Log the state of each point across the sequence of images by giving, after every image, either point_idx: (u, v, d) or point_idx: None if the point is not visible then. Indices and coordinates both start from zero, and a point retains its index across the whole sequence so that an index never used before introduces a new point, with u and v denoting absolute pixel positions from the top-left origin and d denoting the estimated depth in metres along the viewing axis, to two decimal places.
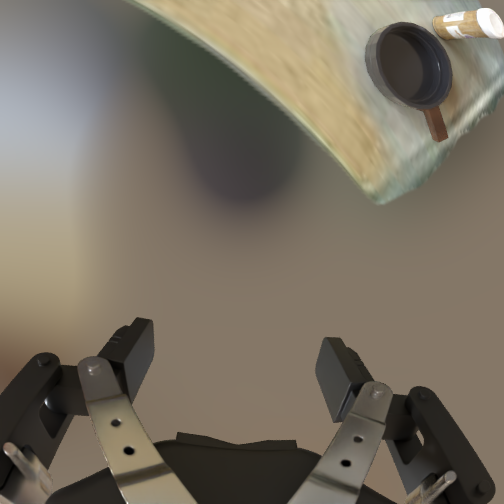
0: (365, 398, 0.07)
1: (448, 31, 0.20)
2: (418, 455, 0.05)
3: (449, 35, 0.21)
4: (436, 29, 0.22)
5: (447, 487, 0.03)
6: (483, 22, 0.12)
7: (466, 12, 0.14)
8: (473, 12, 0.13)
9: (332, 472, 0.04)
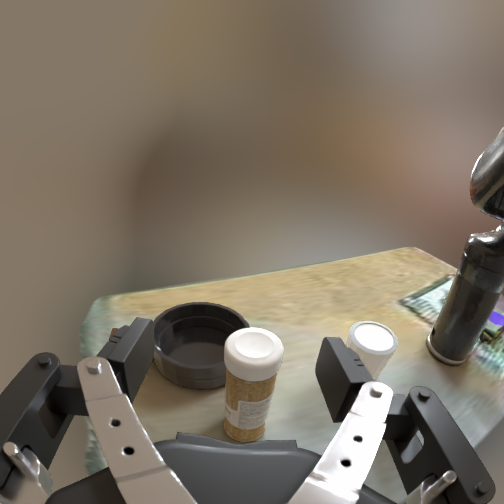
0: (365, 398, 0.07)
1: None
2: (418, 455, 0.05)
3: None
4: None
5: (447, 487, 0.03)
6: None
7: None
8: None
9: (332, 472, 0.04)
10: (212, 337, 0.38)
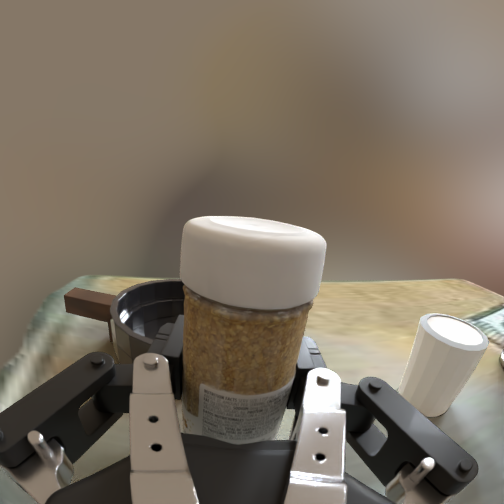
0: (314, 387, 0.08)
1: None
2: (384, 446, 0.06)
3: None
4: None
5: (428, 473, 0.04)
6: None
7: None
8: None
9: (310, 469, 0.04)
10: None
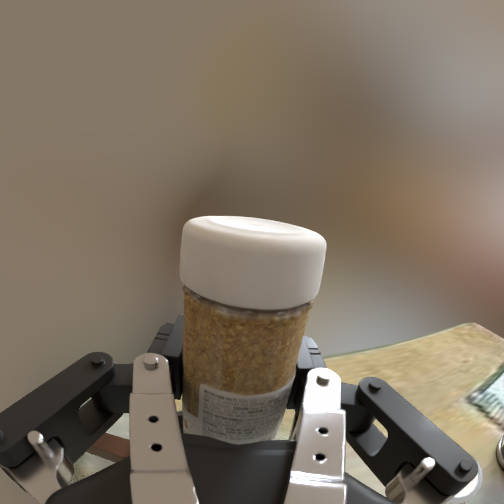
0: (314, 387, 0.08)
1: None
2: (384, 446, 0.06)
3: None
4: None
5: (428, 473, 0.04)
6: None
7: None
8: None
9: (310, 469, 0.04)
10: None
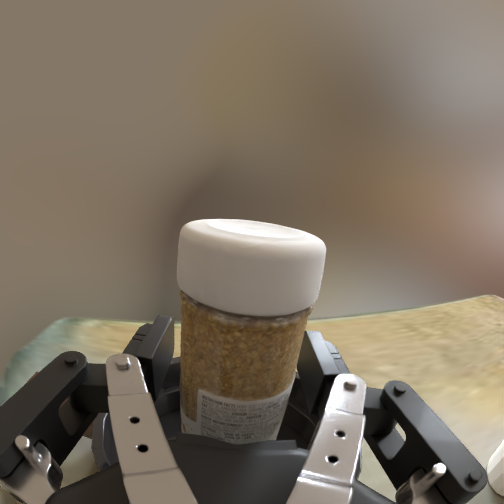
0: (339, 391, 0.08)
1: None
2: (401, 450, 0.06)
3: None
4: None
5: (438, 479, 0.04)
6: None
7: None
8: None
9: (321, 470, 0.04)
10: None
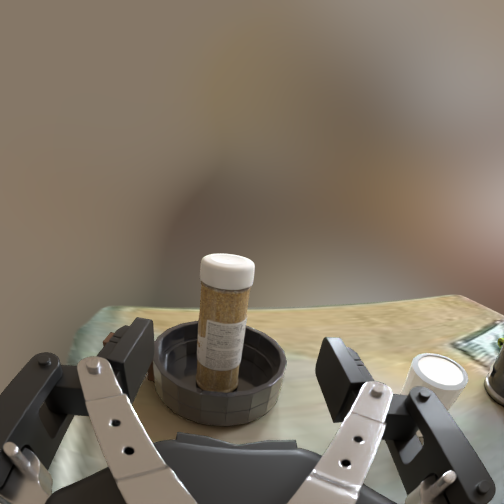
0: (365, 398, 0.07)
1: None
2: (418, 455, 0.05)
3: None
4: None
5: (447, 487, 0.03)
6: None
7: None
8: None
9: (332, 472, 0.04)
10: None
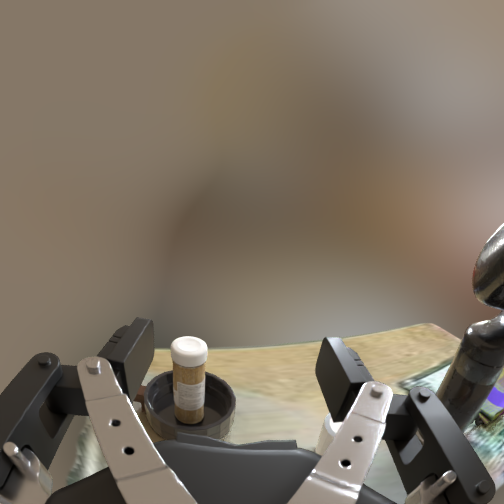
0: (365, 398, 0.07)
1: None
2: (418, 455, 0.05)
3: None
4: None
5: (447, 487, 0.03)
6: None
7: None
8: None
9: (332, 472, 0.04)
10: None
